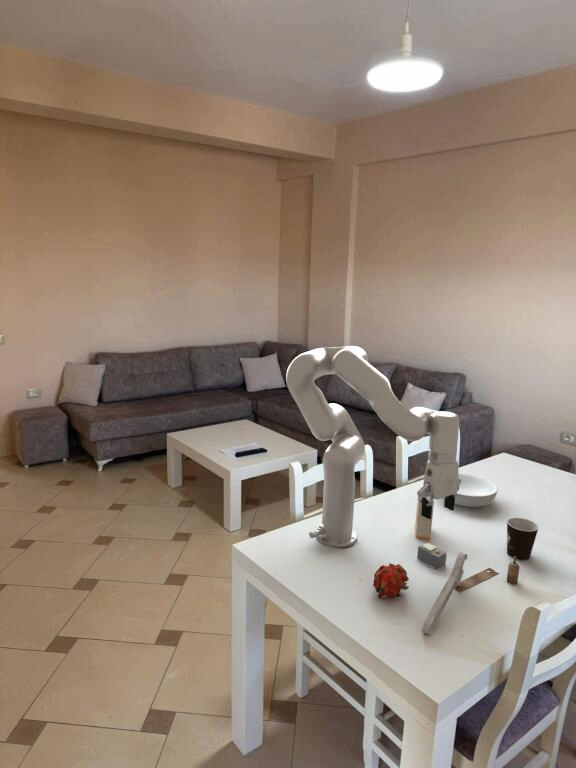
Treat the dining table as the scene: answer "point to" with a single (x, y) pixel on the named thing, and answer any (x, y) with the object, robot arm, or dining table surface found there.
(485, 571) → the strip
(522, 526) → the coffee mug
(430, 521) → the supplement box
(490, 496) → the serving bowl
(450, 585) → the wrench
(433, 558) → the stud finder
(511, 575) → the awl
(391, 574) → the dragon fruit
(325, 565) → the dining table surface
